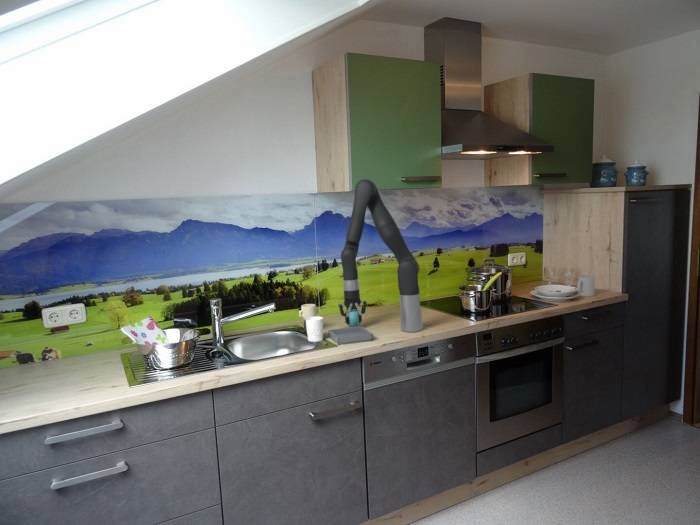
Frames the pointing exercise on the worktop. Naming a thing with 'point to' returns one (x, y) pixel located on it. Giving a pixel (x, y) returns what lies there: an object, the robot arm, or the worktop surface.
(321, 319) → the white cup
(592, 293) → the mug
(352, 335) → the tray
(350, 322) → the teal capsule
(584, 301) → the worktop surface
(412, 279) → the robot arm
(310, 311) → the character mug
